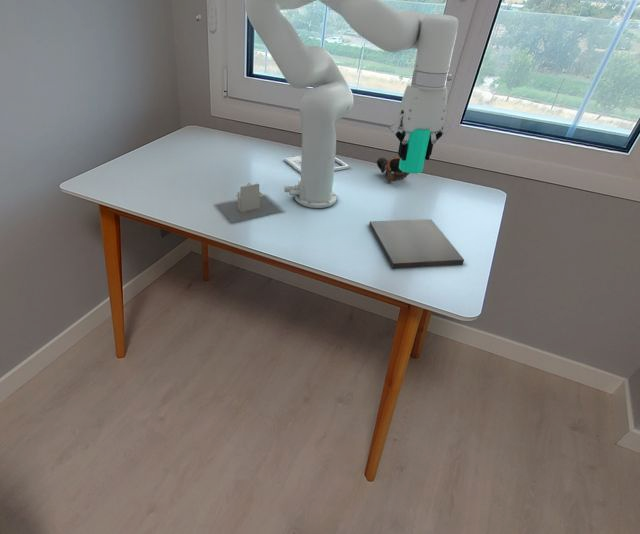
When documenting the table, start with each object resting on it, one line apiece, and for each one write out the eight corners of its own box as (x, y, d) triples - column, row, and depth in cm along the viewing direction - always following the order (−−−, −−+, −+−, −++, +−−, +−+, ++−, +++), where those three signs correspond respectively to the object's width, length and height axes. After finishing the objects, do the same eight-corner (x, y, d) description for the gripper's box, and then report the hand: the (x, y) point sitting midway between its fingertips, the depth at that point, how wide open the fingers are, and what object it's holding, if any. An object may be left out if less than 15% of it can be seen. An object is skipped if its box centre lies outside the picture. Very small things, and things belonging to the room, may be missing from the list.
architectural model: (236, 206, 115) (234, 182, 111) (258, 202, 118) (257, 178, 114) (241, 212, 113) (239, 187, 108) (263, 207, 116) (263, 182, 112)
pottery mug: (409, 176, 143) (416, 161, 135) (397, 195, 139) (404, 181, 131) (379, 161, 144) (384, 145, 137) (367, 179, 141) (371, 164, 133)
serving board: (392, 268, 95) (393, 263, 94) (369, 226, 111) (369, 221, 110) (462, 264, 99) (464, 259, 98) (430, 223, 114) (431, 219, 114)
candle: (422, 174, 100) (433, 125, 93) (398, 171, 100) (407, 122, 94) (422, 166, 105) (432, 118, 98) (398, 163, 105) (407, 115, 98)
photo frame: (284, 157, 145) (327, 151, 153) (284, 160, 146) (327, 154, 154) (304, 172, 135) (349, 165, 143) (304, 175, 136) (348, 168, 144)
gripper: (456, 77, 95) (438, 152, 106) (387, 75, 92) (376, 153, 102) (472, 84, 89) (452, 163, 100) (398, 82, 86) (386, 164, 96)
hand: (413, 157), depth 101 cm, fingers closed on candle, 5 cm apart
